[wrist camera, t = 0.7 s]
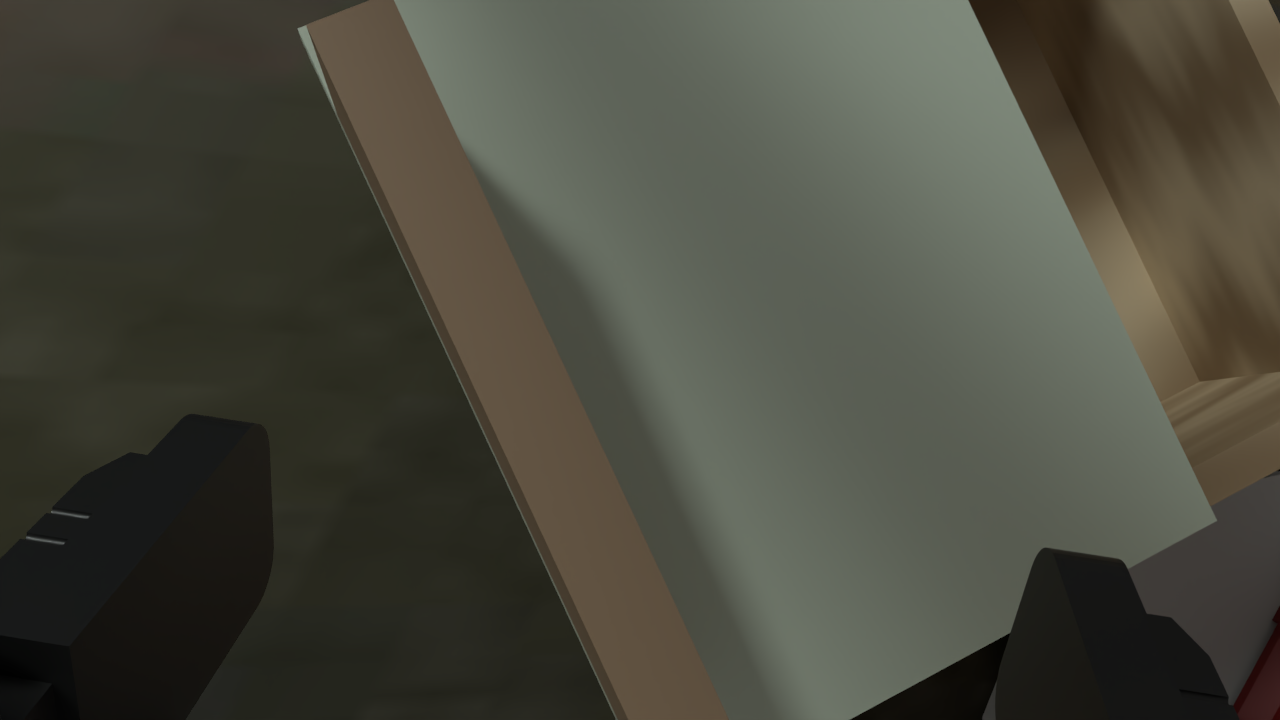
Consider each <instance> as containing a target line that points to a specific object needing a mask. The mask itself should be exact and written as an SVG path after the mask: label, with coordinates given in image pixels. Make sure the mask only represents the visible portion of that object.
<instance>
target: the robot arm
mask: <svg viewBox="0 0 1280 720" xmlns="http://www.w3.org/2000/svg"><path fill="white" fill-rule="evenodd" d="M273 550H274V541H273V517H272V494H271V471H270V448H269V439H268V435H267V432H266V430H265V428H264V427H263V426H262V425H260V424H255V423H248V422H242V421H235V420H229V419H222V418H216V417H209V416H203V415H196V414H189V415H187V416H185V417H184V418H182V419H181V420H180V421H179V422H178V423H177V424H176V425H175V427H174V428H173V429H172V430H171V431H170V432H169V433H168V434H167V435H166V436H165V437H164V438H163V439H162V440H161V441H160V442H159V444H158V445H157V446H156V447H155V448H154V449H153V450H152V451H151V452H150V453H149V454H148V455H143V454H137V453H131V452H130V453H128V454H126V455H124V456H122V457H120V458H118V459H116V460H114V461H112V462H110V463H108V464H106V465H104V466H102V467H100V468H98V469H96V470H95V471H93V472H91V473H89V474H87V475H85V476H83V477H82V478H81V479H80V480H79V481H78V482H77V483H76V484H75V485H74V486H73V487H72V488H71V489H70V490H69V491H68V492H67V493H66V494H65V495H64V496H63V497H62V498H61V499H60V500H59V501H58V502H57V503H56V504H55V505H54V506H53V509H52V512H51V514H49V513H46V514H45V515H44V516H43V517H42V518H41V519H40V520H39V521H38V522H37V523H36V524H35V525H34V526H33V527H32V528H31V529H30V530H29V531H28V532H27V536H26V539H25V540H23V539H20V540H19V541H18V542H17V543H16V544H15V545H14V546H13V547H12V548H11V549H10V550H9V551H8V552H7V553H6V554H5V555H4V556H3V557H2V558H1V559H0V720H185V719H186V718H187V716H188V715H189V713H190V711H191V710H192V708H193V707H194V705H195V704H196V702H197V701H198V699H199V697H200V696H201V694H202V693H203V691H204V690H205V688H206V686H207V685H208V683H209V682H210V680H211V679H212V677H213V676H214V674H215V672H216V671H217V669H218V668H219V666H220V665H221V663H222V661H223V660H224V658H225V657H226V655H227V654H228V652H229V650H230V649H231V647H232V646H233V644H234V643H235V641H236V640H237V638H238V636H239V635H240V633H241V632H242V630H243V629H244V627H245V625H246V624H247V622H248V621H249V619H250V618H251V616H252V615H253V613H254V611H255V610H256V608H257V607H258V605H259V603H260V601H261V599H262V597H263V595H264V592H265V589H266V586H267V583H268V580H269V576H270V572H271V567H272V561H273ZM1228 699H1229V696H1228V694H1227V692H1226V690H1225V687H1224V685H1223V683H1222V681H1221V679H1220V677H1219V675H1218V673H1217V671H1216V669H1215V666H1214V664H1213V662H1212V660H1211V658H1210V656H1209V655H1208V654H1207V653H1206V652H1205V651H1204V650H1203V649H1202V648H1201V647H1200V646H1199V645H1198V644H1197V643H1196V642H1195V641H1194V640H1193V639H1192V638H1191V637H1190V636H1189V635H1188V634H1187V633H1186V632H1185V631H1184V630H1183V629H1182V628H1181V627H1180V626H1179V625H1178V624H1177V623H1176V622H1175V621H1174V620H1173V619H1172V618H1171V617H1166V616H1160V615H1153V614H1147V613H1146V611H1145V608H1144V606H1143V604H1142V601H1141V599H1140V597H1139V594H1138V592H1137V590H1136V587H1135V585H1134V583H1133V580H1132V578H1131V576H1130V573H1129V571H1128V569H1127V567H1126V565H1125V563H1124V562H1123V561H1122V560H1120V559H1118V558H1112V557H1105V556H1099V555H1092V554H1086V553H1079V552H1073V551H1066V550H1060V549H1053V548H1043V549H1041V550H1040V551H1039V553H1038V554H1037V556H1036V558H1035V560H1034V562H1033V565H1032V567H1031V570H1030V573H1029V576H1028V580H1027V583H1026V586H1025V589H1024V592H1023V595H1022V598H1021V601H1020V604H1019V608H1018V611H1017V614H1016V617H1015V620H1014V623H1013V626H1012V629H1011V632H1010V636H1009V639H1008V642H1007V645H1006V648H1005V651H1004V654H1003V657H1002V660H1001V664H1000V668H999V672H998V678H997V684H996V695H995V717H996V720H1240V719H1239V717H1238V715H1237V713H1236V711H1235V708H1234V706H1233V705H1229V704H1228Z"/></svg>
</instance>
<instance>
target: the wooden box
mask: <svg viewBox="0 0 1280 720" xmlns="http://www.w3.org/2000/svg"><path fill="white" fill-rule="evenodd" d="M968 1H969V3H970V5H971V7H972V9H973V11H974V14H975V16H976V18H977V20H978V22H979V24H980V26H981V28H982V30H983V32H984V34H985V37H986V39H987V41H988V43H989V45H990V47H991V49H992V51H993V53H994V55H995V57H996V60H997V62H998V64H999V66H1000V68H1001V70H1002V72H1003V74H1004V76H1005V78H1006V80H1007V83H1008V85H1009V87H1010V89H1011V91H1012V93H1013V95H1014V97H1015V99H1016V101H1017V103H1018V106H1019V108H1020V110H1021V112H1022V114H1023V116H1024V118H1025V120H1026V122H1027V124H1028V126H1029V129H1030V131H1031V133H1032V135H1033V137H1034V139H1035V141H1036V143H1037V145H1038V147H1039V149H1040V152H1041V154H1042V156H1043V158H1044V160H1045V162H1046V164H1047V166H1048V168H1049V170H1050V172H1051V175H1052V177H1053V179H1054V181H1055V183H1056V185H1057V187H1058V189H1059V191H1060V193H1061V195H1062V198H1063V200H1064V202H1065V204H1066V206H1067V208H1068V210H1069V212H1070V214H1071V216H1072V218H1073V221H1074V223H1075V225H1076V227H1077V229H1078V231H1079V233H1080V235H1081V237H1082V239H1083V241H1084V244H1085V246H1086V248H1087V250H1088V252H1089V254H1090V256H1091V258H1092V260H1093V262H1094V264H1095V267H1096V269H1097V271H1098V273H1099V275H1100V277H1101V279H1102V281H1103V283H1104V285H1105V287H1106V289H1107V292H1108V294H1109V296H1110V298H1111V300H1112V302H1113V304H1114V306H1115V308H1116V310H1117V312H1118V315H1119V317H1120V319H1121V321H1122V323H1123V325H1124V327H1125V329H1126V331H1127V333H1128V335H1129V338H1130V340H1131V342H1132V344H1133V346H1134V348H1135V350H1136V352H1137V354H1138V356H1139V358H1140V361H1141V363H1142V365H1143V367H1144V369H1145V371H1146V373H1147V375H1148V377H1149V379H1150V381H1151V384H1152V386H1153V388H1154V390H1155V392H1156V394H1157V396H1158V398H1159V400H1160V402H1161V404H1162V407H1163V409H1164V411H1165V413H1166V415H1167V417H1168V419H1169V421H1170V423H1171V425H1172V427H1173V430H1174V432H1175V434H1176V436H1177V438H1178V440H1179V442H1180V444H1181V446H1182V448H1183V450H1184V453H1185V455H1186V457H1187V459H1188V461H1189V463H1190V465H1191V467H1192V469H1193V471H1194V473H1195V476H1196V478H1197V480H1198V482H1199V484H1200V486H1201V488H1202V490H1203V492H1204V494H1205V496H1206V499H1207V501H1208V503H1209V505H1210V506H1212V505H1214V504H1216V503H1218V502H1220V501H1221V500H1223V499H1225V498H1227V497H1229V496H1231V495H1233V494H1234V493H1236V492H1238V491H1240V490H1242V489H1244V488H1246V487H1247V486H1249V485H1251V484H1253V483H1255V482H1257V481H1259V480H1260V479H1262V478H1264V477H1266V476H1268V475H1270V474H1272V473H1273V472H1275V471H1277V470H1279V469H1280V23H1279V21H1278V19H1277V17H1276V15H1275V13H1274V11H1273V9H1272V7H1271V5H1270V3H1269V1H1268V0H968Z"/></svg>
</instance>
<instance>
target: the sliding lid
mask: <svg viewBox="0 0 1280 720" xmlns="http://www.w3.org/2000/svg"><path fill="white" fill-rule="evenodd" d="M298 32H299V34H300V37H301V40H302V42H303V45H304V47H305V50H306V52H307V54H308V56H309V58H310V60H311V62H312V65H313V67H314V69H315V71H316V73H317V75H318V78H319V80H320V82H321V84H322V86H323V88H324V91H325V93H326V95H327V97H328V99H329V101H330V103H331V106H332V108H333V110H334V112H335V114H336V116H337V119H338V121H339V123H340V125H341V127H342V129H343V132H344V134H345V136H346V138H347V140H348V142H349V144H350V147H351V149H352V151H353V153H354V155H355V157H356V160H357V162H358V164H359V166H360V168H361V170H362V173H363V175H364V177H365V179H366V181H367V183H368V185H369V188H370V190H371V192H372V194H373V196H374V198H375V201H376V203H377V205H378V207H379V209H380V211H381V214H382V216H383V218H384V220H385V222H386V224H387V226H388V229H389V231H390V233H391V235H392V237H393V239H394V242H395V244H396V246H397V248H398V250H399V252H400V254H401V257H402V259H403V261H404V263H405V265H406V267H407V270H408V272H409V274H410V276H411V278H412V280H413V283H414V285H415V287H416V289H417V291H418V293H419V295H420V298H421V300H422V302H423V304H424V306H425V308H426V311H427V313H428V315H429V317H430V319H431V321H432V324H433V326H434V328H435V330H436V332H437V334H438V336H439V339H440V341H441V343H442V345H443V347H444V349H445V352H446V354H447V356H448V358H449V360H450V362H451V365H452V367H453V369H454V371H455V373H456V375H457V377H458V380H459V382H460V384H461V386H462V388H463V390H464V393H465V395H466V397H467V399H468V401H469V403H470V405H471V408H472V410H473V412H474V414H475V416H476V418H477V421H478V423H479V425H480V427H481V429H482V431H483V434H484V436H485V438H486V440H487V442H488V444H489V446H490V449H491V451H492V453H493V455H494V457H495V459H496V462H497V464H498V466H499V468H500V470H501V472H502V475H503V477H504V479H505V481H506V483H507V485H508V487H509V490H510V492H511V494H512V496H513V498H514V500H515V503H516V505H517V507H518V509H519V511H520V513H521V516H522V518H523V520H524V522H525V524H526V526H527V528H528V531H529V533H530V535H531V537H532V539H533V541H534V544H535V546H536V548H537V550H538V552H539V554H540V557H541V559H542V561H543V563H544V565H545V567H546V569H547V572H548V574H549V576H550V578H551V580H552V582H553V585H554V587H555V589H556V591H557V593H558V595H559V597H560V600H561V602H562V604H563V606H564V608H565V610H566V613H567V615H568V617H569V619H570V621H571V623H572V626H573V628H574V630H575V632H576V634H577V636H578V638H579V641H580V643H581V645H582V647H583V649H584V651H585V654H586V656H587V658H588V660H589V662H590V664H591V667H592V669H593V671H594V673H595V675H596V677H597V679H598V682H599V684H600V686H601V688H602V690H603V692H604V695H605V697H606V699H607V701H608V703H609V705H610V708H611V710H612V712H613V714H614V716H615V718H616V720H850V719H852V718H854V717H856V716H857V715H859V714H861V713H863V712H865V711H867V710H868V709H870V708H872V707H874V706H876V705H878V704H880V703H881V702H883V701H885V700H887V699H889V698H891V697H892V696H894V695H896V694H898V693H900V692H902V691H904V690H905V689H907V688H909V687H911V686H913V685H915V684H916V683H918V682H920V681H922V680H924V679H926V678H928V677H929V676H931V675H933V674H935V673H937V672H939V671H940V670H942V669H944V668H946V667H948V666H950V665H952V664H953V663H955V662H957V661H959V660H961V659H963V658H964V657H966V656H968V655H970V654H972V653H974V652H976V651H977V650H979V649H981V648H983V647H985V646H987V645H988V644H990V643H992V642H994V641H996V640H998V639H1000V638H1001V637H1003V636H1005V635H1007V634H1009V633H1010V632H1011V629H1012V626H1013V623H1014V620H1015V617H1016V614H1017V611H1018V608H1019V604H1020V601H1021V598H1022V595H1023V592H1024V589H1025V586H1026V583H1027V580H1028V576H1029V573H1030V570H1031V567H1032V565H1033V562H1034V560H1035V558H1036V556H1037V554H1038V553H1039V551H1040V550H1041V549H1043V548H1053V549H1060V550H1066V551H1073V552H1079V553H1086V554H1092V555H1099V556H1105V557H1112V558H1118V559H1120V560H1122V561H1123V562H1124V563H1125V565H1126V567H1127V569H1129V568H1131V567H1132V566H1134V565H1136V564H1138V563H1140V562H1142V561H1144V560H1145V559H1147V558H1149V557H1151V556H1153V555H1155V554H1156V553H1158V552H1160V551H1162V550H1164V549H1166V548H1168V547H1169V546H1171V545H1173V544H1175V543H1177V542H1179V541H1180V540H1182V539H1184V538H1186V537H1188V536H1190V535H1192V534H1193V533H1195V532H1197V531H1199V530H1201V529H1203V528H1204V527H1206V526H1208V525H1210V524H1212V523H1214V522H1216V521H1217V519H1216V517H1215V515H1214V513H1213V511H1212V509H1211V507H1210V505H1209V503H1208V501H1207V499H1206V496H1205V494H1204V492H1203V490H1202V488H1201V486H1200V484H1199V482H1198V480H1197V478H1196V476H1195V473H1194V471H1193V469H1192V467H1191V465H1190V463H1189V461H1188V459H1187V457H1186V455H1185V453H1184V450H1183V448H1182V446H1181V444H1180V442H1179V440H1178V438H1177V436H1176V434H1175V432H1174V430H1173V427H1172V425H1171V423H1170V421H1169V419H1168V417H1167V415H1166V413H1165V411H1164V409H1163V407H1162V404H1161V402H1160V400H1159V398H1158V396H1157V394H1156V392H1155V390H1154V388H1153V386H1152V384H1151V381H1150V379H1149V377H1148V375H1147V373H1146V371H1145V369H1144V367H1143V365H1142V363H1141V361H1140V358H1139V356H1138V354H1137V352H1136V350H1135V348H1134V346H1133V344H1132V342H1131V340H1130V338H1129V335H1128V333H1127V331H1126V329H1125V327H1124V325H1123V323H1122V321H1121V319H1120V317H1119V315H1118V312H1117V310H1116V308H1115V306H1114V304H1113V302H1112V300H1111V298H1110V296H1109V294H1108V292H1107V289H1106V287H1105V285H1104V283H1103V281H1102V279H1101V277H1100V275H1099V273H1098V271H1097V269H1096V267H1095V264H1094V262H1093V260H1092V258H1091V256H1090V254H1089V252H1088V250H1087V248H1086V246H1085V244H1084V241H1083V239H1082V237H1081V235H1080V233H1079V231H1078V229H1077V227H1076V225H1075V223H1074V221H1073V218H1072V216H1071V214H1070V212H1069V210H1068V208H1067V206H1066V204H1065V202H1064V200H1063V198H1062V195H1061V193H1060V191H1059V189H1058V187H1057V185H1056V183H1055V181H1054V179H1053V177H1052V175H1051V172H1050V170H1049V168H1048V166H1047V164H1046V162H1045V160H1044V158H1043V156H1042V154H1041V152H1040V149H1039V147H1038V145H1037V143H1036V141H1035V139H1034V137H1033V135H1032V133H1031V131H1030V129H1029V126H1028V124H1027V122H1026V120H1025V118H1024V116H1023V114H1022V112H1021V110H1020V108H1019V106H1018V103H1017V101H1016V99H1015V97H1014V95H1013V93H1012V91H1011V89H1010V87H1009V85H1008V83H1007V80H1006V78H1005V76H1004V74H1003V72H1002V70H1001V68H1000V66H999V64H998V62H997V60H996V57H995V55H994V53H993V51H992V49H991V47H990V45H989V43H988V41H987V39H986V37H985V34H984V32H983V30H982V28H981V26H980V24H979V22H978V20H977V18H976V16H975V14H974V11H973V9H972V7H971V5H970V3H969V1H968V0H369V1H367V2H364V3H361V4H359V5H356V6H354V7H351V8H349V9H346V10H343V11H341V12H338V13H336V14H333V15H330V16H328V17H325V18H323V19H320V20H317V21H315V22H312V23H310V24H307V25H306V26H303V27H301V28H298Z"/></svg>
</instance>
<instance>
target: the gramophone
mask: <svg viewBox="0 0 1280 720" xmlns="http://www.w3.org/2000/svg"><path fill="white" fill-rule="evenodd" d="M1210 507H1211V509H1212V511H1213V513H1214V515H1215V517H1216V519H1217V521H1216V522H1214V523H1212V524H1210V525H1208V526H1206V527H1204V528H1203V529H1201V530H1199V531H1197V532H1195V533H1193V534H1192V535H1190V536H1188V537H1186V538H1184V539H1182V540H1180V541H1179V542H1177V543H1175V544H1173V545H1171V546H1169V547H1168V548H1166V549H1164V550H1162V551H1160V552H1158V553H1156V554H1155V555H1153V556H1151V557H1149V558H1147V559H1145V560H1144V561H1142V562H1140V563H1138V564H1136V565H1134V566H1132V567H1131V568H1129V569H1128V571H1129V573H1130V576H1131V578H1132V580H1133V583H1134V585H1135V587H1136V590H1137V592H1138V594H1139V597H1140V599H1141V601H1142V604H1143V606H1144V608H1145V611H1146V613H1147V614H1153V615H1160V616H1166V617H1171V618H1172V619H1173V620H1174V621H1175V622H1176V623H1177V624H1178V625H1179V626H1180V627H1181V628H1182V629H1183V630H1184V631H1185V632H1186V633H1187V634H1188V635H1189V636H1190V637H1191V638H1192V639H1193V640H1194V641H1195V642H1196V643H1197V644H1198V645H1199V646H1200V647H1201V648H1202V649H1203V650H1204V651H1205V652H1206V653H1207V654H1208V655H1209V656H1210V658H1211V660H1212V662H1213V664H1214V666H1215V669H1216V671H1217V673H1218V675H1219V677H1220V679H1221V681H1222V683H1223V685H1224V687H1225V690H1226V692H1227V694H1228V696H1229V699H1228V704H1229V705H1233V706H1234V708H1235V711H1236V713H1237V715H1238V717H1239V719H1240V720H1280V472H1273V473H1272V474H1270V475H1268V476H1266V477H1264V478H1262V479H1260V480H1259V481H1257V482H1255V483H1253V484H1251V485H1249V486H1247V487H1246V488H1244V489H1242V490H1240V491H1238V492H1236V493H1234V494H1233V495H1231V496H1229V497H1227V498H1225V499H1223V500H1221V501H1220V502H1218V503H1216V504H1214V505H1212V506H1210ZM996 684H997V681H996ZM996 684H995V686H994V689H993V691H992V694H991V696H990V699H989V701H988V704H987V706H986V709H985V712H984V714H983V717H982V720H996V717H995V695H996Z"/></svg>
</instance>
